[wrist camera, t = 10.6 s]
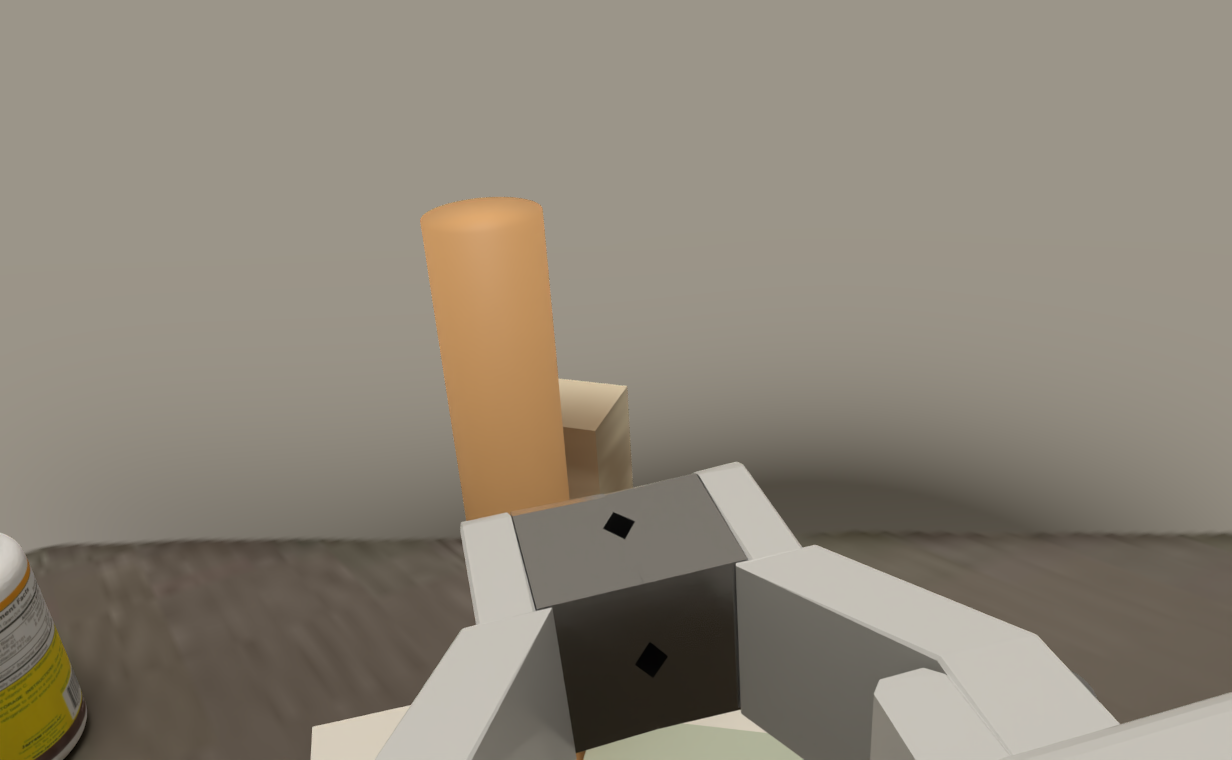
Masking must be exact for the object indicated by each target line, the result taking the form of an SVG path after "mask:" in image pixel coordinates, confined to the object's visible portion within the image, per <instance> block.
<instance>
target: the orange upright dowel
mask: <svg viewBox="0 0 1232 760" xmlns="http://www.w3.org/2000/svg"><path fill="white" fill-rule="evenodd" d="M543 220H544V219H543V209H542V207H541V205H539V204H538V203H536V202H534V201H531V200H527V199H522V198H513V197H486V198H475V199H468V200H462V201H457V202H453V203H449V204H445V205H442V206H439V207H437V208H434V209H432V210H430V211H428V212H427V213H425V214H424V215H423V216H422V217H421V220H420V222H421V229H422V235H423V241H424V248H425V254H426V260H427V267H428V274H429V281H430V287H431V294H432V300H433V307H434V313H435V320H436V326H437V333H438V338H439V346H440V352H441V359H442V365H443V371H444V378H445V385H446V390H447V397H448V404H449V411H450V417H451V424H452V430H453V436H454V442H455V449H456V456H457V462H458V469H459V475H460V481H461V488H462V494H463V501H464V508H465V514H466V521H469V520H474V519H478V518H483V517H487V516H492V515H497V514H501V513H506V512H507V513H508V514H509V515H510V516H511V513H510V512H511V511H516V510H521V509H527V508H532V507H537V506H542V505H547V504H552V503H557V502H562V501H567V500H570V498H569V487H568V477H567V466H566V455H565V444H564V434H563V423H562V412H561V401H560V391H559V380H558V370H557V359H556V348H555V337H554V326H553V316H552V305H551V295H550V284H549V273H548V263H547V252H546V241H545V230H544V221H543ZM576 757H577V759H576V760H804V759H803V758H801V757H800V756H798V755H797V754H796V753H794V752H793V751H792V750H790V749H789V748H787V747H786V746H785V745H783V744H782V743H781V742H779V741H778V740H777V739H775V738H774V737H772V736H771V735H770V734H768V733H763V732H754V731H745V730H736V729H727V728H719V727H710V726H701V725H692V724H684V723H682V724H678V725H673V726H669V727H665V728H661V729H657V730H653V731H650V732H646V733H643V734H640V735H636V736H633V737H629V738H626V739H623V740H619V741H616V742H612V743H609V744H606V745H602V746H599V747H596V748H592V749H589V750H585V751H582V752H579V753H576Z"/></svg>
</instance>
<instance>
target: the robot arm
mask: <svg viewBox="0 0 1232 760" xmlns="http://www.w3.org/2000/svg"><path fill="white" fill-rule="evenodd" d="M510 513H511V516H510V515H509V514H508V513H507V512H506V513H501V514H497V515H492V516H487V517H483V518H478V519H474V520H469V521H465V522H461V528H460V531H461V537H462V543H463V549H464V555H465V561H466V567H467V573H468V579H469V585H470V591H471V596H472V602H473V608H474V614H475V620H476V625H475V626H471V627H467V628H463V629H461V631H460V632H459V634H458V635H457V637H456V638H455V640H454V641H453V643H452V644H451V646H450V647H449V649H448V650H447V652H446V653H445V655H444V656H443V658H442V659H441V661H440V662H439V664H438V665H437V667H436V668H435V670H434V671H433V673H432V674H431V676H430V677H429V679H428V680H427V682H426V683H425V685H424V686H423V688H422V689H421V691H420V692H419V694H418V695H417V697H416V698H415V700H414V701H413V703H412V704H411V706H410V707H409V709H408V710H407V712H406V713H405V715H404V716H403V718H402V719H401V721H400V722H399V724H398V725H397V727H396V728H395V730H394V731H393V733H392V734H391V736H390V737H389V739H388V740H387V742H386V743H385V745H384V746H383V748H382V749H381V751H380V752H379V754H378V755H377V757H376V758H375V760H576V759H577V757H576V753H579V752H582V751H585V750H589V749H592V748H596V747H599V746H602V745H606V744H609V743H612V742H616V741H619V740H623V739H626V738H629V737H633V736H636V735H640V734H643V733H646V732H650V731H653V730H657V729H661V728H665V727H669V726H673V725H678V724H682V723H686V722H690V721H695V720H699V719H703V718H707V717H712V716H716V715H720V714H724V713H729V712H733V711H737V710H741V714H742V715H744V716H745V717H746V718H748V719H749V720H751V721H752V722H753V723H755V724H756V725H757V726H759V727H760V728H761V729H763V730H764V731H766V732H767V733H768V734H770V735H771V736H772V737H774V738H775V739H777V740H778V741H779V742H781V743H782V744H783V745H785V746H786V747H787V748H789V749H790V750H792V751H793V752H794V753H796V754H797V755H798V756H800V757H801V758H803V759H804V760H1232V692H1230V693H1226V694H1223V695H1220V696H1216V697H1213V698H1209V699H1206V700H1203V701H1199V702H1196V703H1192V704H1189V705H1185V706H1182V707H1179V708H1175V709H1172V710H1168V711H1165V712H1161V713H1158V714H1154V715H1151V716H1147V717H1144V718H1140V719H1137V720H1133V721H1130V722H1127V723H1123V724H1119V723H1118V722H1117V720H1116V719H1115V718H1114V717H1113V716H1112V715H1111V714H1110V713H1109V712H1108V711H1107V710H1106V709H1105V708H1104V706H1103V705H1102V704H1101V703H1100V702H1099V701H1098V700H1097V699H1096V698H1095V697H1094V696H1093V695H1092V694H1091V693H1090V691H1089V690H1088V689H1087V688H1086V687H1085V686H1084V685H1083V684H1082V683H1081V682H1080V681H1079V680H1078V679H1077V678H1076V676H1075V675H1074V674H1073V673H1072V672H1071V671H1070V670H1069V669H1068V668H1067V667H1066V666H1065V665H1064V664H1063V663H1062V661H1061V660H1060V659H1059V658H1058V657H1057V656H1056V655H1055V654H1054V653H1053V652H1052V651H1051V650H1050V649H1049V648H1048V646H1047V645H1046V644H1045V643H1044V642H1043V641H1042V640H1041V639H1040V638H1039V637H1038V636H1037V635H1036V634H1033V633H1031V632H1028V631H1026V630H1024V629H1021V628H1019V627H1016V626H1014V625H1011V624H1009V623H1006V622H1004V621H1001V620H999V619H997V618H994V617H992V616H989V615H987V614H984V613H982V612H979V611H977V610H974V609H972V608H970V607H967V606H965V605H962V604H960V603H957V602H955V601H952V600H950V599H947V598H945V597H942V596H940V595H938V594H935V593H933V592H930V591H928V590H925V589H923V588H920V587H918V586H915V585H913V584H911V583H908V582H906V581H903V580H901V579H898V578H896V577H893V576H891V575H888V574H886V573H884V572H881V571H879V570H876V569H874V568H871V567H869V566H866V565H864V564H861V563H859V562H856V561H854V560H852V559H849V558H847V557H844V556H842V555H839V554H837V553H834V552H832V551H829V550H827V549H825V548H822V547H820V546H817V545H813V546H808V547H804V548H802V546H801V545H800V544H799V542H798V541H797V539H796V538H795V537H794V535H793V534H792V532H791V531H790V530H789V528H788V527H787V525H786V524H785V522H784V521H783V520H782V518H781V517H780V515H779V514H778V513H777V511H776V510H775V508H774V507H773V505H772V504H771V503H770V501H769V500H768V498H767V497H766V496H765V495H764V493H763V491H762V490H761V489H760V487H759V486H758V484H757V483H756V482H755V480H754V479H753V477H752V476H751V474H750V473H749V472H748V470H747V469H746V467H745V466H744V465H743V464H740V463H738V462H733V463H729V464H725V465H721V466H718V467H713V468H709V469H705V470H701V471H698V472H694V473H693V474H690V475H685V476H681V477H677V478H673V479H668V480H664V481H660V482H655V483H651V484H647V485H642V486H638V487H634V488H630V489H625V490H621V491H617V492H612V493H608V494H604V493H603V494H598V495H593V496H588V497H583V498H577V499H572V500H567V501H562V502H557V503H552V504H547V505H542V506H537V507H532V508H527V509H521V510H516V511H511V512H510Z"/></svg>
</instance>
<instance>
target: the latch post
mask: <svg viewBox="0 0 1232 760" xmlns="http://www.w3.org/2000/svg"><path fill="white" fill-rule="evenodd" d="M558 380H559V391H560V401H561V412H562V423H563V434H564V444H565V455H566V466H567V477H568V487H569V498H570V500H572V499H577V498H583V497H588V496H593V495H598V494H603V493H604V494H608V493H612V492H617V491H621V490H625V489H630V488H633V480H632V464H631V463H632V462H631V445H630V427H629V409H628V391H627V386H621V385H612V384H603V383H594V382H584V381H576V380H566V379H558Z"/></svg>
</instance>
